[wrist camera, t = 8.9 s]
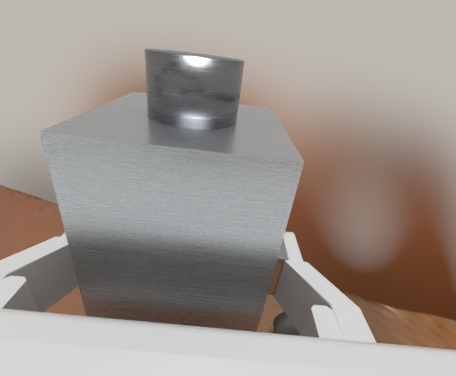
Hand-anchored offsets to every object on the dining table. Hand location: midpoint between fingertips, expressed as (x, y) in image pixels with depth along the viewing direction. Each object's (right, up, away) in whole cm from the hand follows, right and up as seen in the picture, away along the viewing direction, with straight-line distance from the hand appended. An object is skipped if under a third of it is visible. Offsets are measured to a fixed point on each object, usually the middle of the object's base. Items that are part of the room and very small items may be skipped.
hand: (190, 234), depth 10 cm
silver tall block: (-1, -6, +2) cm, 6 cm away
